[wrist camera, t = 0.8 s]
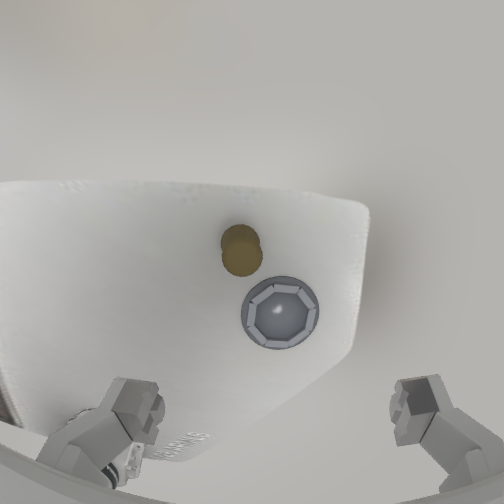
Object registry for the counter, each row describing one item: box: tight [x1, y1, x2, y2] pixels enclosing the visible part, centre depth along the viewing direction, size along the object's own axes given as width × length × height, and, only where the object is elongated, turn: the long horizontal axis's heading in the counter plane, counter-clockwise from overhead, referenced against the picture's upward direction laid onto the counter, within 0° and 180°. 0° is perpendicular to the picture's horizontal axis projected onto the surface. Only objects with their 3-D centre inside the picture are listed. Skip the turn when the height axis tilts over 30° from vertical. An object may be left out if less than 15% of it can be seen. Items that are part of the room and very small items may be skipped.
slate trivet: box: [241, 277, 319, 350], centre depth 53 cm, size 13×13×2 cm
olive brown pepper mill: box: [221, 224, 262, 277], centre depth 46 cm, size 6×6×11 cm
